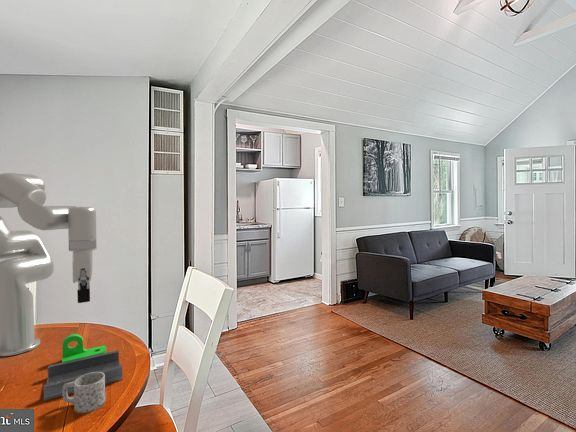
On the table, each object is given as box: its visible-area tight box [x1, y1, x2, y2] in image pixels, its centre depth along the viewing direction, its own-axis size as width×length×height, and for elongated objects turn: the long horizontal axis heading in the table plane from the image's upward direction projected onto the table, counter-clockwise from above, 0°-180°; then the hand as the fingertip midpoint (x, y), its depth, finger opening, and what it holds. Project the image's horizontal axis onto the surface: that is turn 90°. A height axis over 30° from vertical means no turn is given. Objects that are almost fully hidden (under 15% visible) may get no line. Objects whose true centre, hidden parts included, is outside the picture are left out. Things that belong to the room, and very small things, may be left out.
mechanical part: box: [61, 333, 107, 363], centre depth 104 cm, size 12×6×8 cm, turn 123°
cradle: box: [43, 349, 124, 401], centre depth 92 cm, size 13×18×4 cm
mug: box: [61, 372, 106, 414], centre depth 80 cm, size 10×7×7 cm, turn 92°
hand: (83, 298), depth 102 cm, fingers open, 9 cm apart
